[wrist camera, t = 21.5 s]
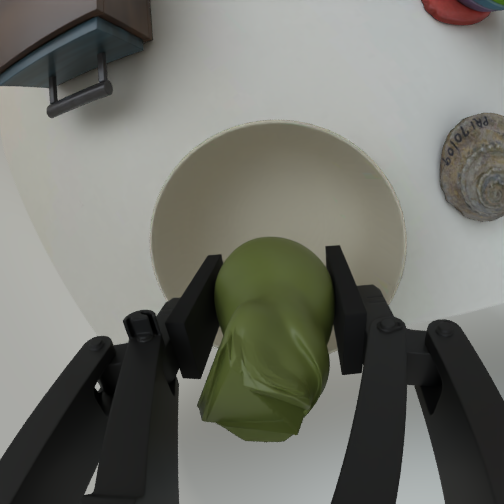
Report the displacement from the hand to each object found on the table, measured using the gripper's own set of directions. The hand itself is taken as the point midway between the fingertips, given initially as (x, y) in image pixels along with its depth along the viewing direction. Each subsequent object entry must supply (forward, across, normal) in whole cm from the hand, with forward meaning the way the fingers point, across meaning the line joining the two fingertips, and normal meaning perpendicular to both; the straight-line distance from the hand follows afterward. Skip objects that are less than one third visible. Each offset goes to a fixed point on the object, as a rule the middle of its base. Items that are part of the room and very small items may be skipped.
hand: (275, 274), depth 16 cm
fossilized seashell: (+12, +21, +4) cm, 25 cm away
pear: (+1, 0, 0) cm, 1 cm away
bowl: (+12, 0, 0) cm, 12 cm away
